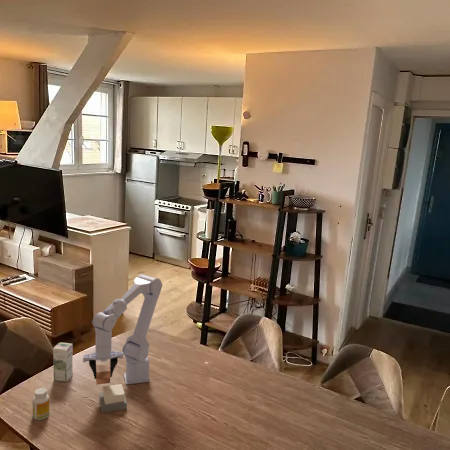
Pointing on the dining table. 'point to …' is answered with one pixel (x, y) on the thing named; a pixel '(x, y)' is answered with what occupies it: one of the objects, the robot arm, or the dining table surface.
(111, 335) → the robot arm
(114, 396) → the top slab
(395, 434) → the dining table surface
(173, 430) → the dining table surface
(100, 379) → the terracotta cube
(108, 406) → the bottom slab
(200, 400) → the dining table surface
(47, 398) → the supplement bottle
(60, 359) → the syrup box
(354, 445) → the dining table surface
